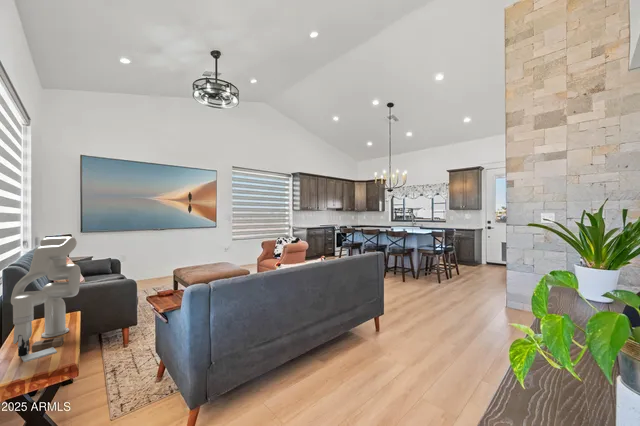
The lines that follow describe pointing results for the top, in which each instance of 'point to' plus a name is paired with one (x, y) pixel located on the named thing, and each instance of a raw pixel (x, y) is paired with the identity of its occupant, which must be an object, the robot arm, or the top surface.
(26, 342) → the metal cylinder
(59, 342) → the block with rectangular opening
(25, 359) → the hard drive
